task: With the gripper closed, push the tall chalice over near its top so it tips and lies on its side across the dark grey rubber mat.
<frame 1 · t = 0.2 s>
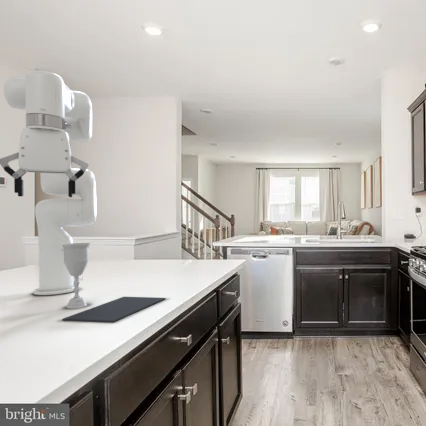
hand: (46, 196, 89), 31 cm above the table, tool pointing down, fingers open, 9 cm apart
chalice: (76, 306, 107), on the table
mat: (119, 308, 105), on the table
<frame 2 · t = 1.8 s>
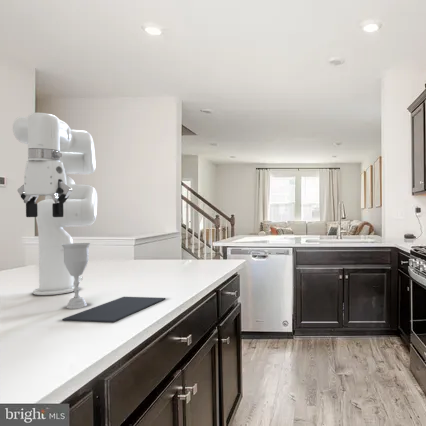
hand: (44, 216, 108), 26 cm above the table, tool pointing down, fingers open, 7 cm apart
nothing on the table moved.
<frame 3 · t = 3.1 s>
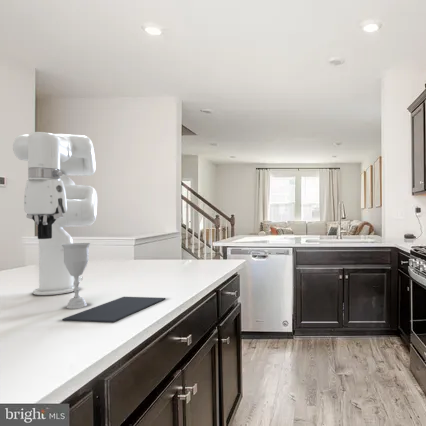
hand: (44, 238, 108), 20 cm above the table, tool pointing down, fingers closed
nothing on the table moved.
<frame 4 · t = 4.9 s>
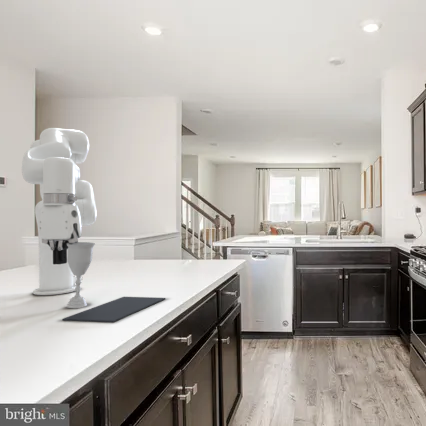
hand: (60, 263, 108), 12 cm above the table, tool pointing down, fingers closed
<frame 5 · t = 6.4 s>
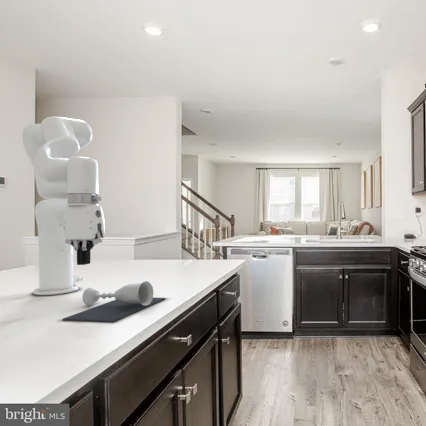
hand: (83, 264, 107), 12 cm above the table, tool pointing down, fingers closed
chalice: (88, 296, 109), point 3 cm above the table, touching mat
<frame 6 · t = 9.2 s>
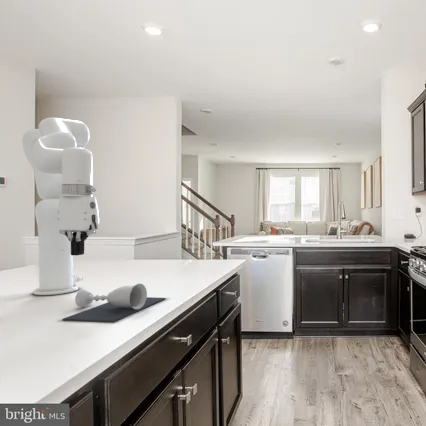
hand: (77, 254, 108), 15 cm above the table, tool pointing down, fingers closed
chalice: (81, 298, 106), point 2 cm above the table, touching mat
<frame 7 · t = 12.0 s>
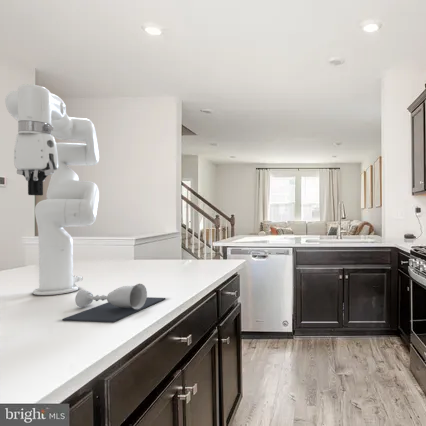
hand: (35, 195, 105), 32 cm above the table, tool pointing down, fingers closed
nothing on the table moved.
at the end: chalice tilted 86°; chalice touching mat, table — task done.
